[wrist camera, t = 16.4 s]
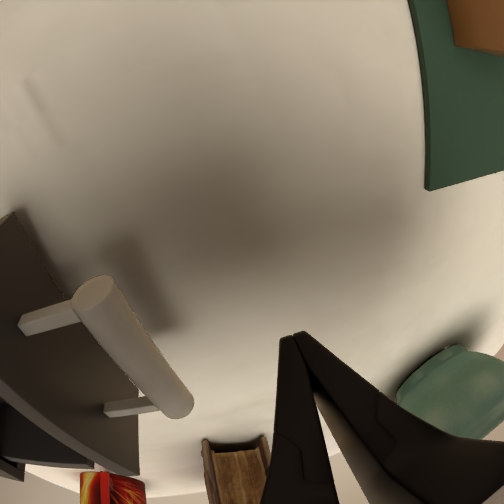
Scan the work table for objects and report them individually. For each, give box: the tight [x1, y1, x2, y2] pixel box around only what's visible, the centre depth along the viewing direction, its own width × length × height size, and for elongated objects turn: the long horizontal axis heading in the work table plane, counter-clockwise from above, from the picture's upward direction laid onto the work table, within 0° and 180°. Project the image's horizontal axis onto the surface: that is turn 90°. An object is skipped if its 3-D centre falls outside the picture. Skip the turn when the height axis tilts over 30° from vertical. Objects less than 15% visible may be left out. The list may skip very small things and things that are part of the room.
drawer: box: [0, 212, 194, 476], centre depth 10 cm, size 18×12×6 cm
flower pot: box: [396, 344, 504, 439], centre depth 22 cm, size 16×16×11 cm
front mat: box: [408, 0, 504, 191], centre depth 8 cm, size 20×12×1 cm, turn 13°
